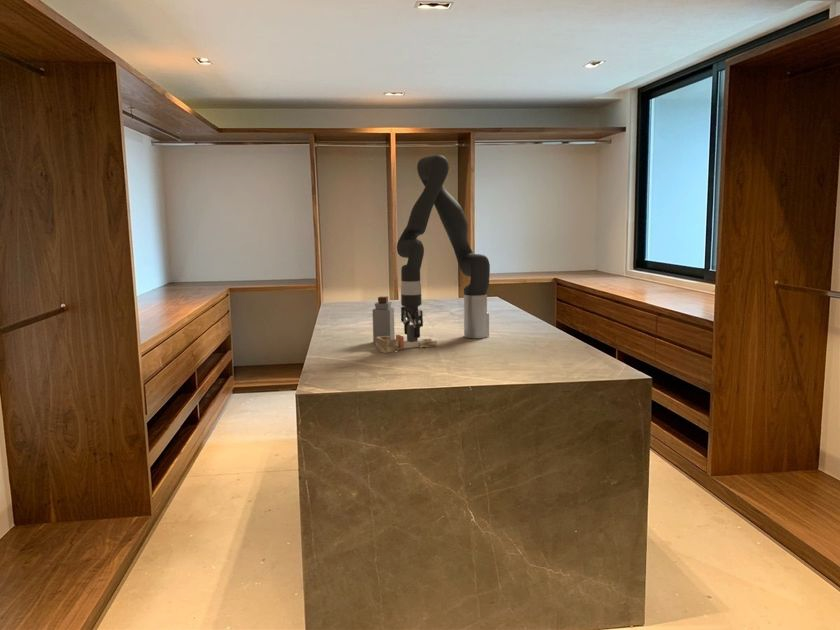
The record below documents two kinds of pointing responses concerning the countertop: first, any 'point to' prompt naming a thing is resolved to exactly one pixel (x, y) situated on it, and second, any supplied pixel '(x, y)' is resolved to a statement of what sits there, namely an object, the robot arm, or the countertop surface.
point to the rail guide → (427, 343)
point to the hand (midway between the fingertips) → (412, 335)
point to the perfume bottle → (383, 319)
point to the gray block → (409, 339)
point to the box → (386, 344)
